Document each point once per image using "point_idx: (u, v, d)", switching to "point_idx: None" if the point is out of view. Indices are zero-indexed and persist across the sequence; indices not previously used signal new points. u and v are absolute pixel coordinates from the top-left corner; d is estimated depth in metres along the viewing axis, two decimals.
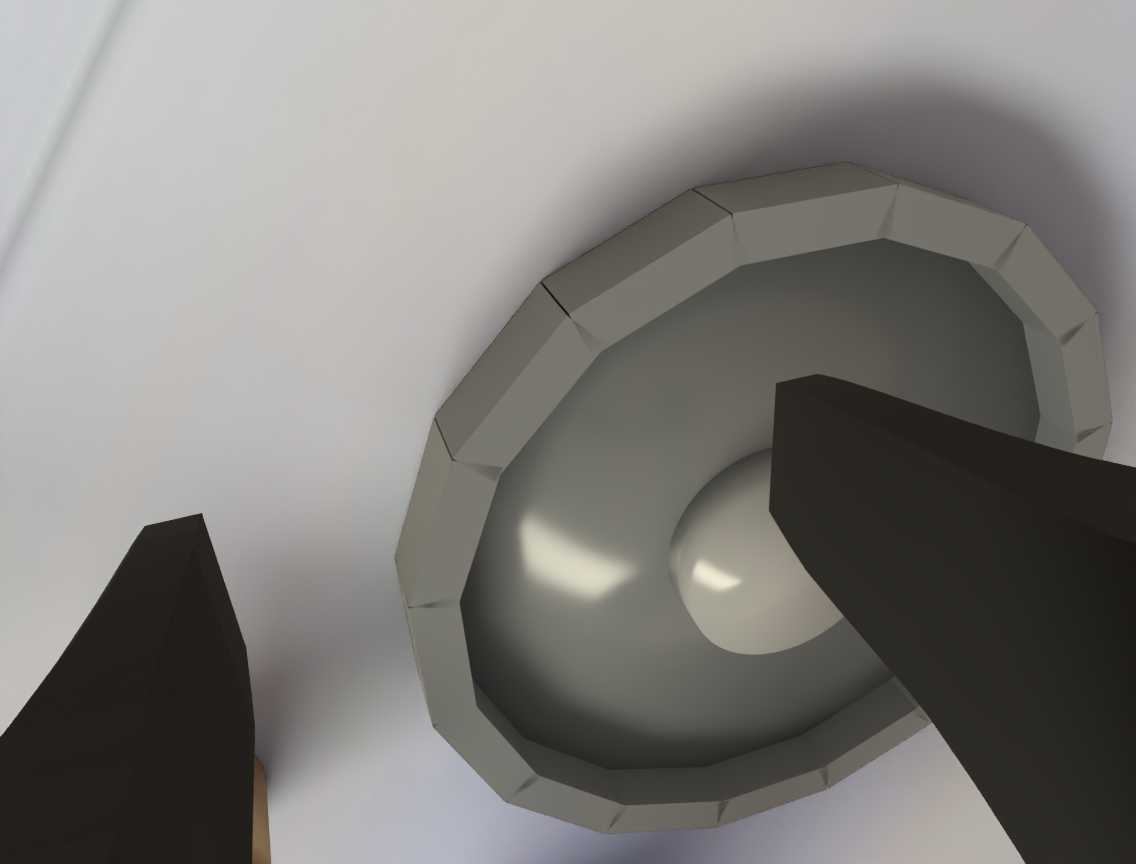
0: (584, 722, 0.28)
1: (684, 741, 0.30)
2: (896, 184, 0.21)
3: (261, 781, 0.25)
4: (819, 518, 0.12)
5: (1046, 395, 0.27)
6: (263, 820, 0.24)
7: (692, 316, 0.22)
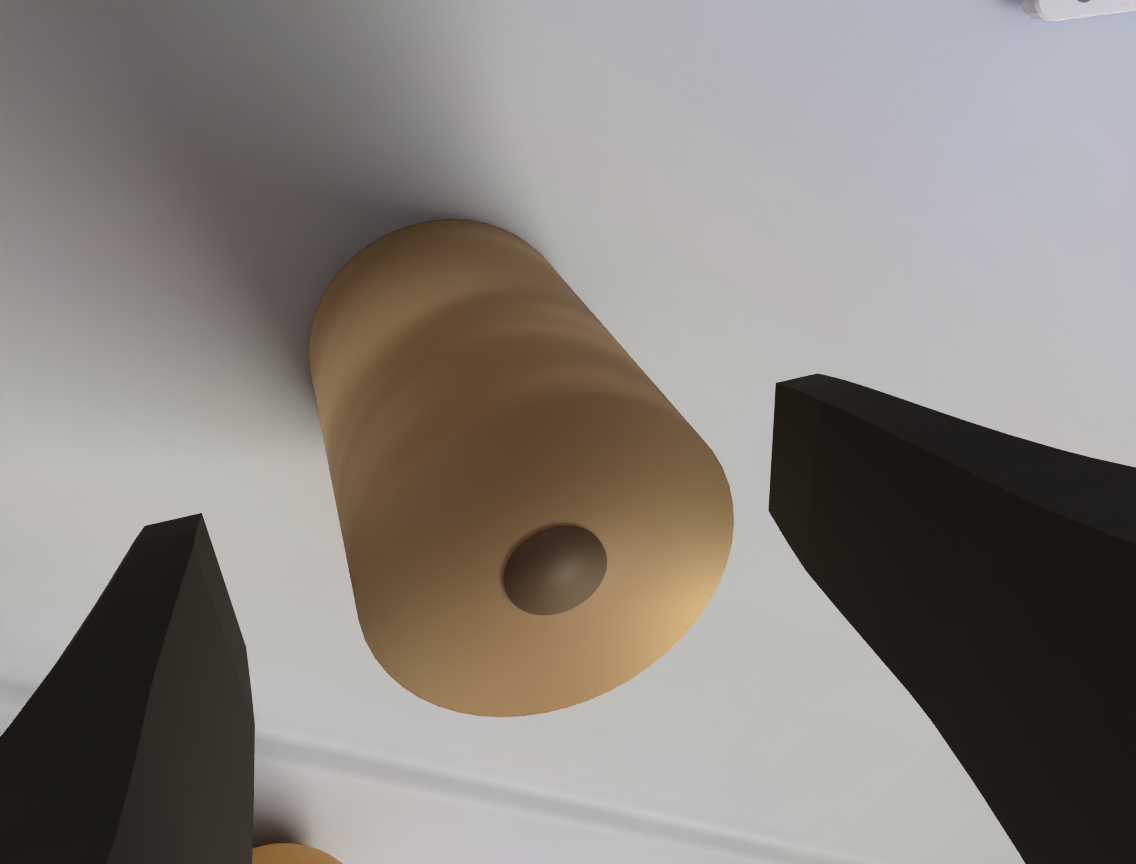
0: None
1: None
2: None
3: (415, 239, 0.14)
4: (819, 518, 0.12)
5: None
6: (431, 270, 0.13)
7: None
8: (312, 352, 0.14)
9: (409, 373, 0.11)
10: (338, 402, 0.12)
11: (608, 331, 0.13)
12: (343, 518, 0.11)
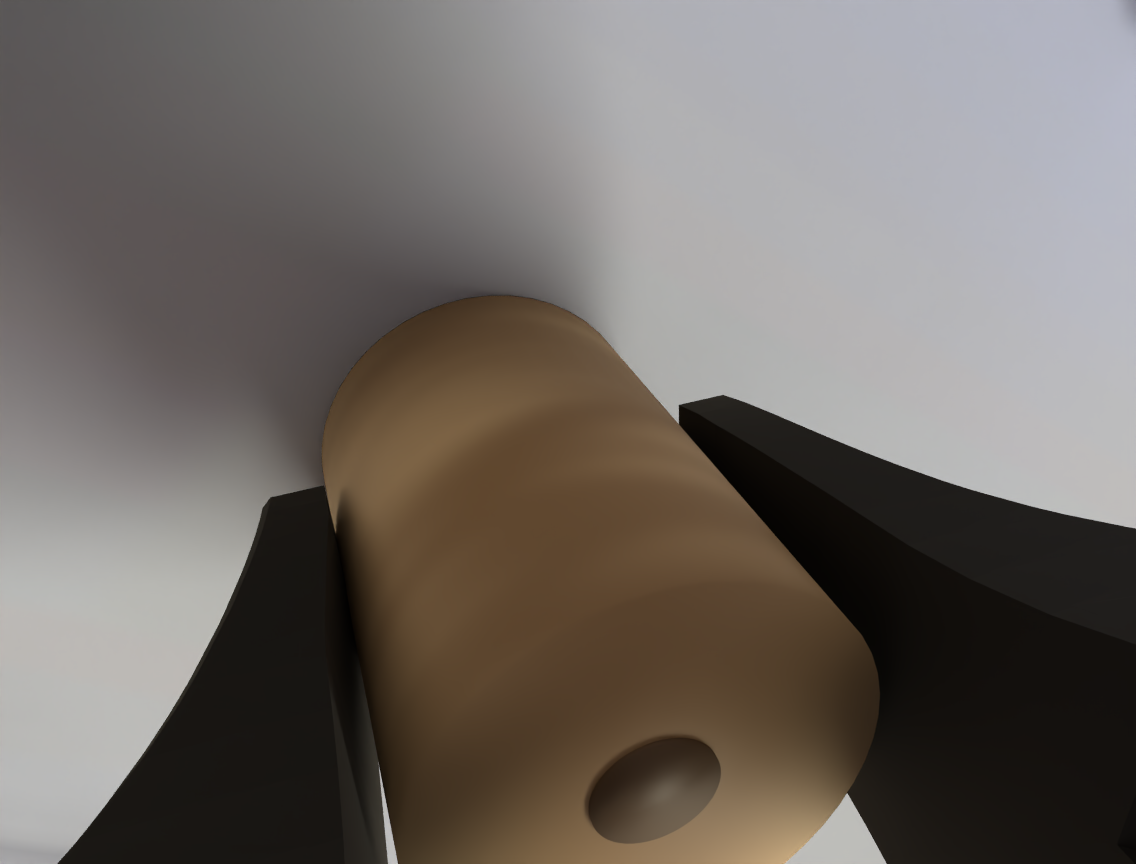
0: None
1: None
2: None
3: (454, 325, 0.11)
4: None
5: None
6: (478, 371, 0.10)
7: None
8: (327, 458, 0.12)
9: (461, 528, 0.08)
10: (364, 547, 0.09)
11: None
12: (375, 717, 0.08)
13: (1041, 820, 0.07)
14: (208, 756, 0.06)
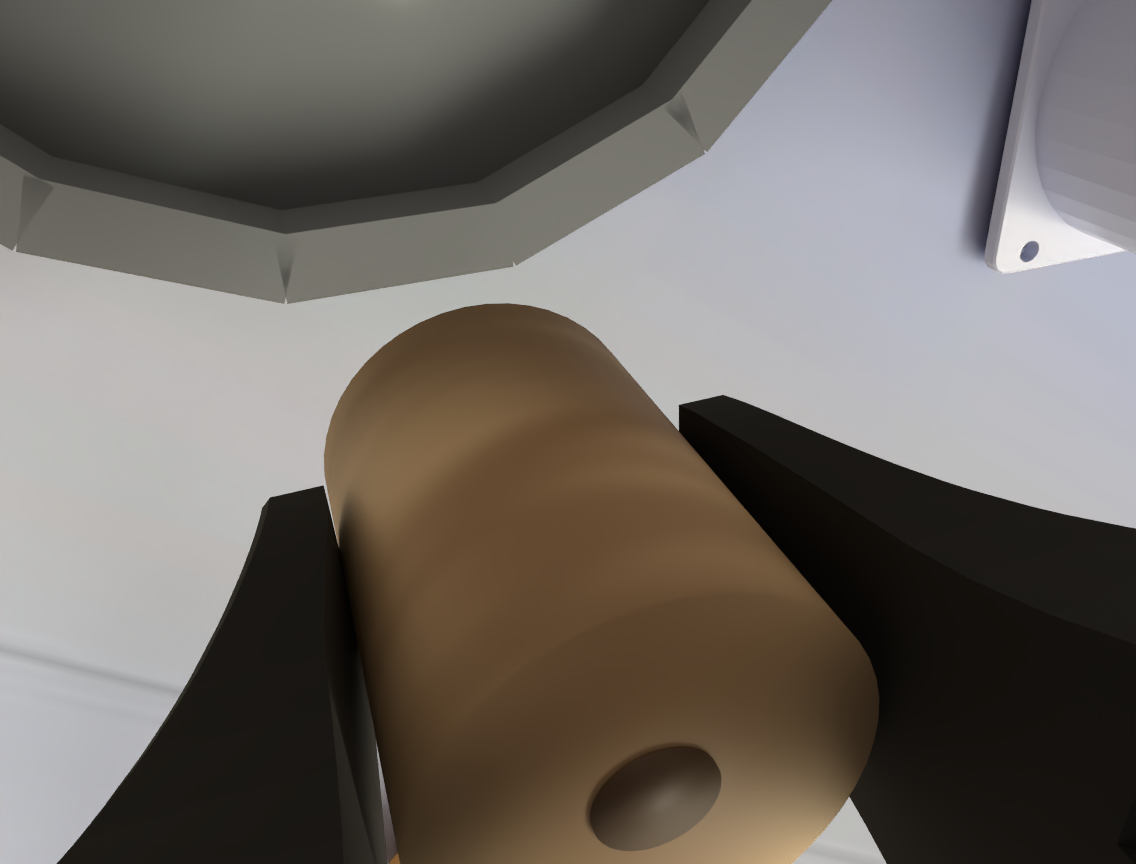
0: None
1: None
2: None
3: (451, 334, 0.11)
4: None
5: None
6: (475, 381, 0.10)
7: None
8: (329, 469, 0.12)
9: (458, 542, 0.08)
10: (365, 560, 0.09)
11: (696, 453, 0.10)
12: (378, 729, 0.08)
13: (1041, 820, 0.07)
14: (208, 756, 0.06)
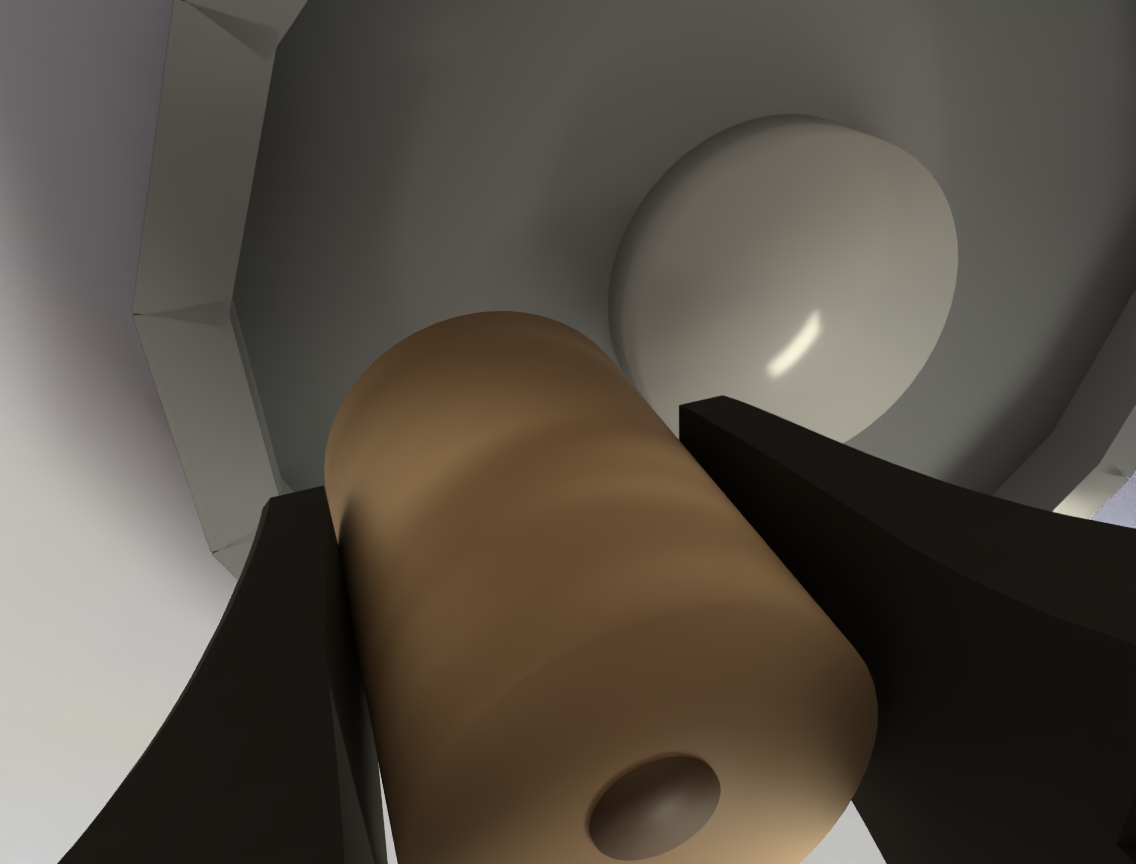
0: (958, 480, 0.21)
1: (1068, 332, 0.20)
2: (134, 315, 0.13)
3: (445, 344, 0.11)
4: None
5: None
6: (468, 392, 0.10)
7: None
8: (328, 482, 0.12)
9: (452, 558, 0.08)
10: (363, 575, 0.10)
11: (692, 458, 0.10)
12: (378, 745, 0.08)
13: (1041, 820, 0.07)
14: (208, 755, 0.06)
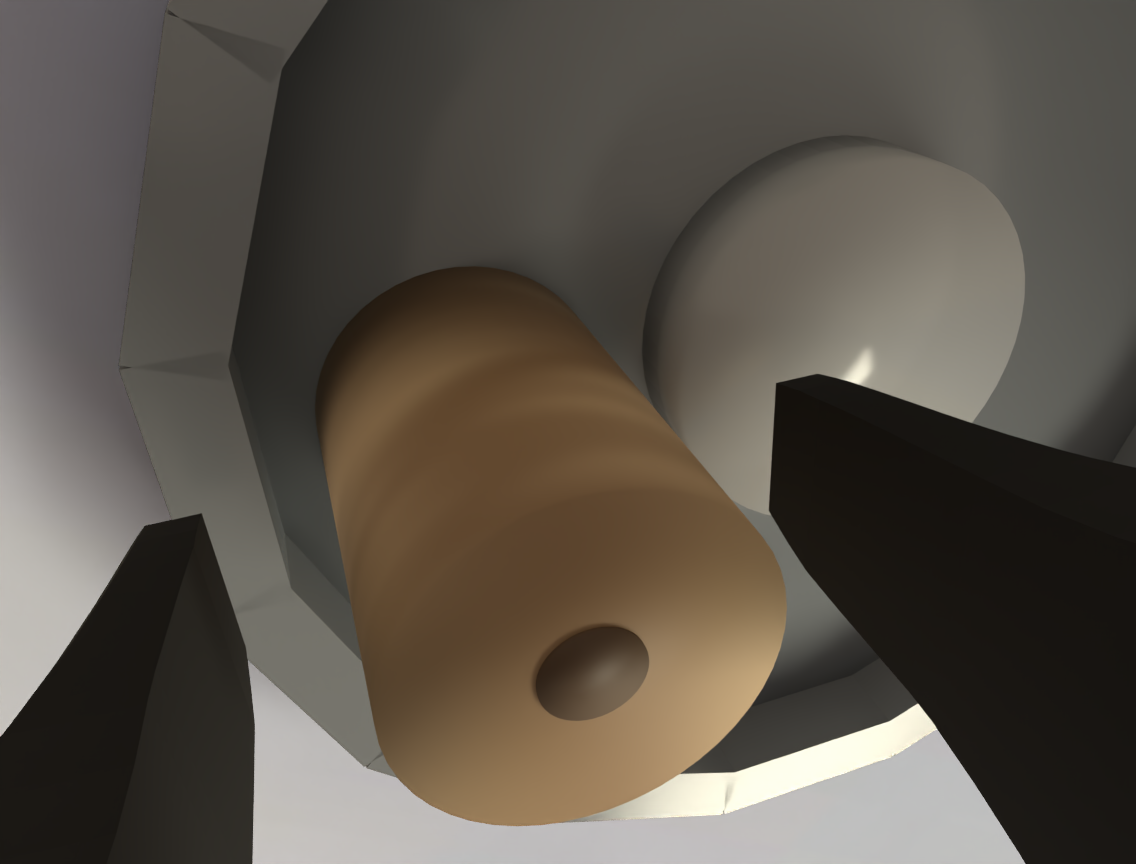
0: None
1: (1129, 364, 0.19)
2: (121, 368, 0.11)
3: (422, 294, 0.13)
4: (819, 518, 0.12)
5: None
6: (440, 332, 0.12)
7: None
8: (318, 418, 0.13)
9: (420, 462, 0.10)
10: (346, 486, 0.11)
11: (636, 389, 0.12)
12: (357, 623, 0.10)
13: None
14: None
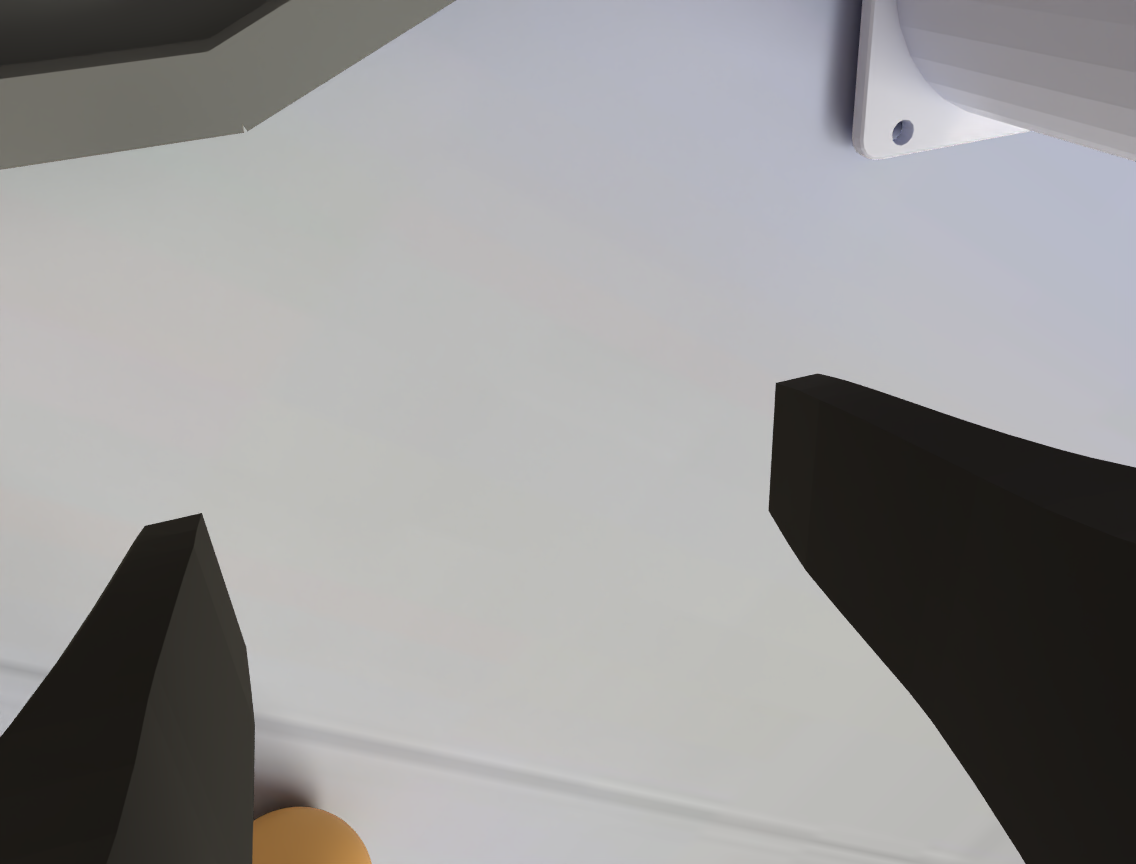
0: None
1: None
2: None
3: None
4: (819, 518, 0.12)
5: None
6: None
7: None
8: None
9: None
10: None
11: None
12: None
13: None
14: None
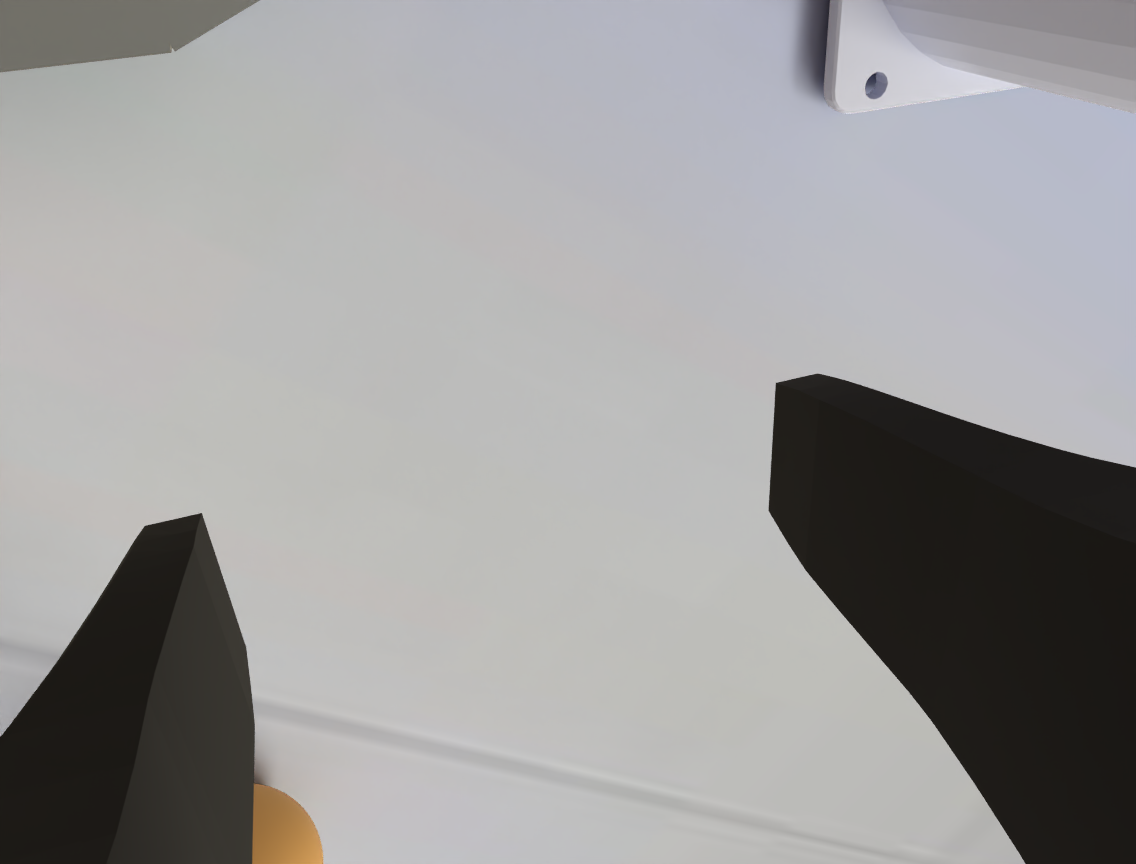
0: None
1: None
2: None
3: None
4: (819, 518, 0.12)
5: None
6: None
7: None
8: None
9: None
10: None
11: None
12: None
13: None
14: None
